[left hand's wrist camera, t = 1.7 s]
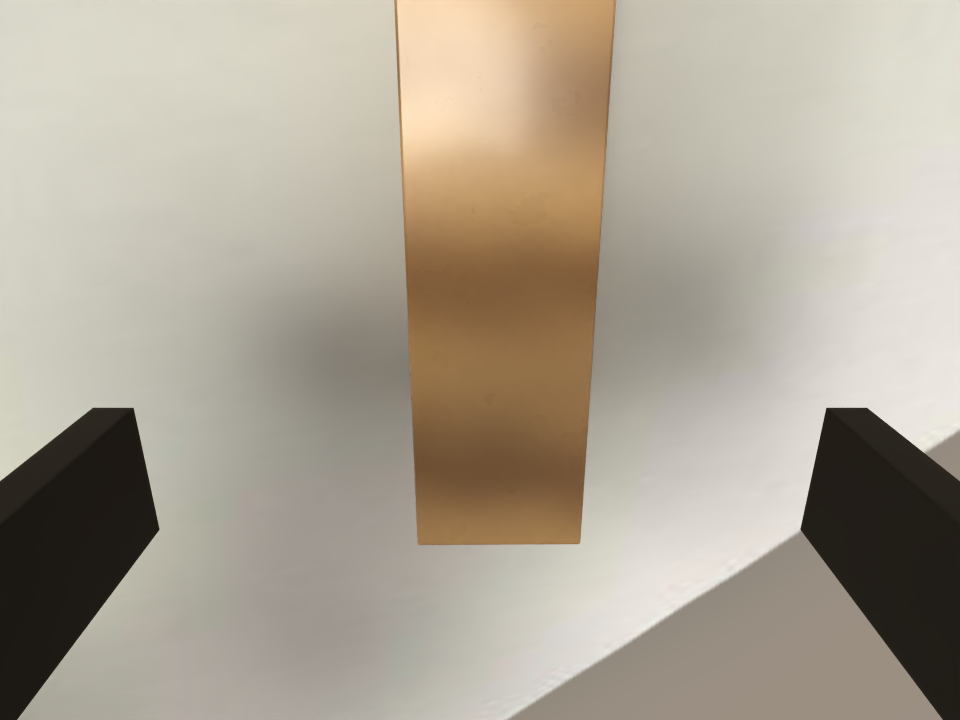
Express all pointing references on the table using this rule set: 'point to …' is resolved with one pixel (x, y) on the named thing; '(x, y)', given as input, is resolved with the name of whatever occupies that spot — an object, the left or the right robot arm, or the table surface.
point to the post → (502, 258)
